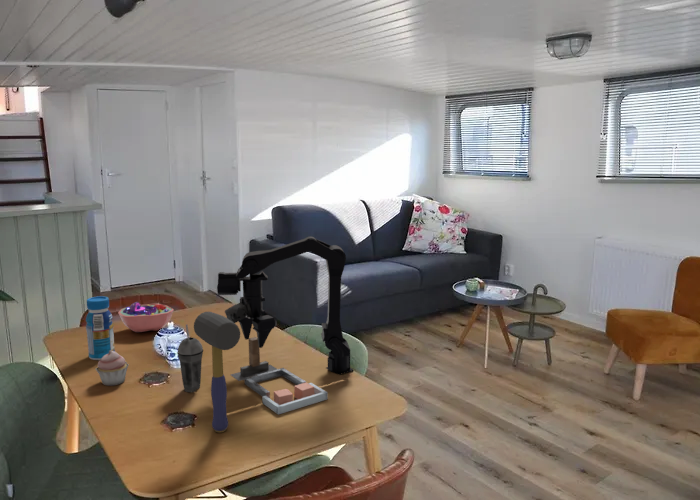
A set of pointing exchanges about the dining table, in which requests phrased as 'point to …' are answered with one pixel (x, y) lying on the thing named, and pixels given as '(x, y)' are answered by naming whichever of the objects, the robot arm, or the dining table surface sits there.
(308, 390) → the salmon pink cube
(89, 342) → the beverage bottle
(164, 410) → the dining table surface
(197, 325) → the rubber mallet
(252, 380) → the slot channel
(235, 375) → the mat
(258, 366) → the t-shaped scraper
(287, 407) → the tray
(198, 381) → the beverage cup
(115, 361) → the cupcake
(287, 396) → the dusty rose cube
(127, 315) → the cell model
